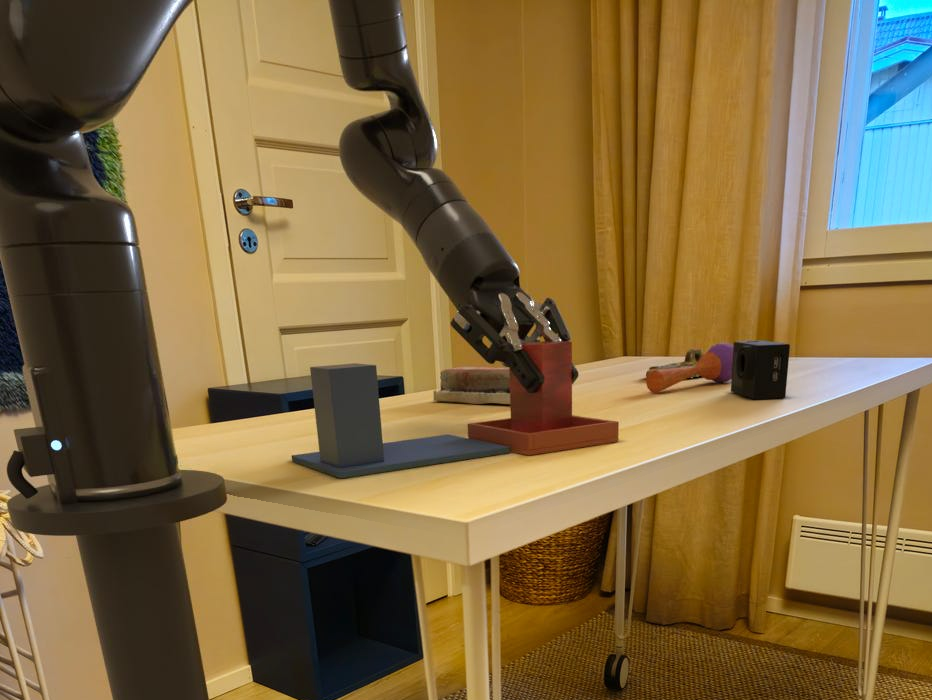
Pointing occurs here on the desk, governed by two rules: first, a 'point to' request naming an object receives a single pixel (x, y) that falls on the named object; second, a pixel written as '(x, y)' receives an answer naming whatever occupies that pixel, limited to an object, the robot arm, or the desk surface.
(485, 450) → the blue mat
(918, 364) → the desk surface
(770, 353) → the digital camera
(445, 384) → the weathered brick on slab
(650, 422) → the desk surface
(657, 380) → the orange and purple microphone
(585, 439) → the red tray
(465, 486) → the desk surface
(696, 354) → the seal
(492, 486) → the desk surface
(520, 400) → the red block
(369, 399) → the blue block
